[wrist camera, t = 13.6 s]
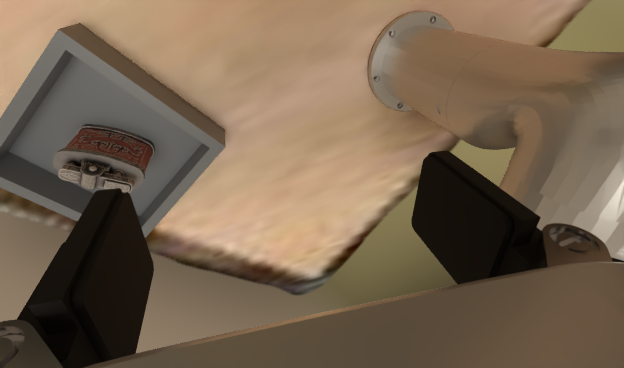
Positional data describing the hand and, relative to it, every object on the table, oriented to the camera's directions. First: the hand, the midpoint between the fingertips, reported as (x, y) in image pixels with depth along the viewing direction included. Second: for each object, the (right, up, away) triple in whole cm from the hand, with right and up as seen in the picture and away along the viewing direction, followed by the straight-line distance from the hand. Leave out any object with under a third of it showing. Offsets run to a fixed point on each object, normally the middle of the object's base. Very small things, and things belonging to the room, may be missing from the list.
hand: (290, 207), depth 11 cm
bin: (-23, +6, +30) cm, 38 cm away
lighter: (-22, +6, +29) cm, 37 cm away
